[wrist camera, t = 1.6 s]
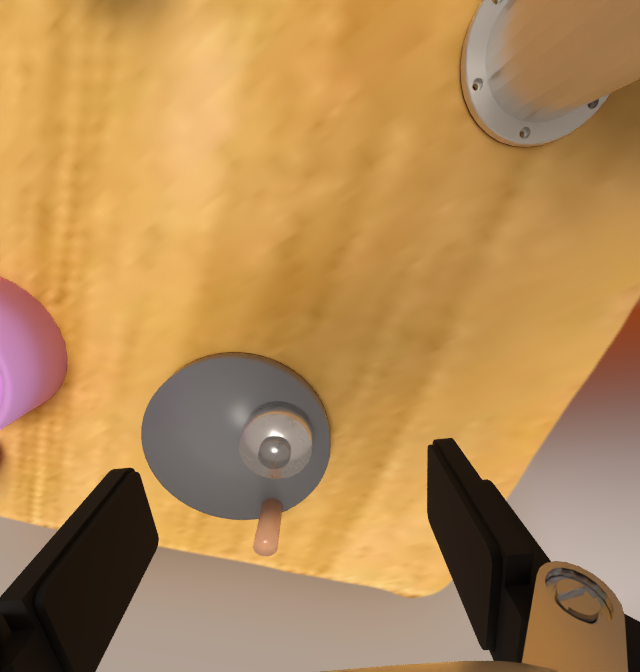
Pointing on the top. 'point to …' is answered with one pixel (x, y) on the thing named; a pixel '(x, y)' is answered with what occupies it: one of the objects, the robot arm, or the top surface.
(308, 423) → the cover
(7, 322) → the container set
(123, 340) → the top surface
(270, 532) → the grey domed disc
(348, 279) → the top surface
